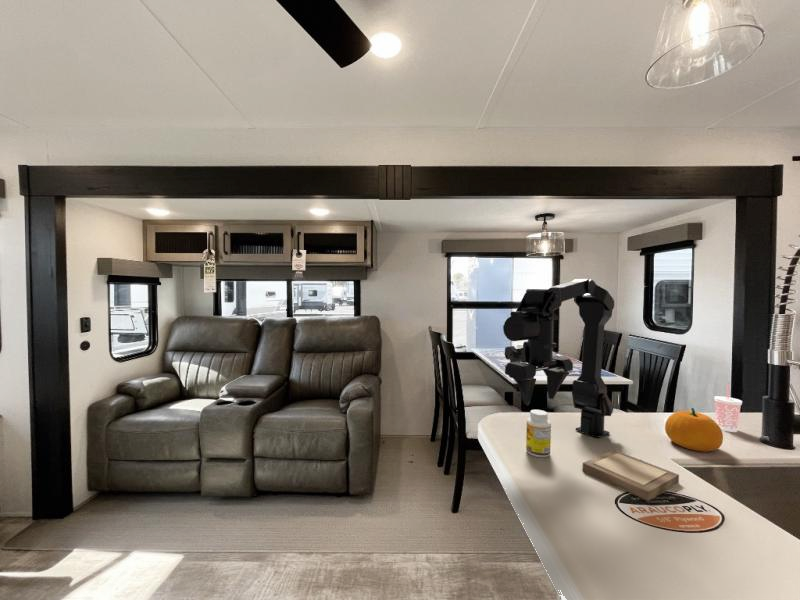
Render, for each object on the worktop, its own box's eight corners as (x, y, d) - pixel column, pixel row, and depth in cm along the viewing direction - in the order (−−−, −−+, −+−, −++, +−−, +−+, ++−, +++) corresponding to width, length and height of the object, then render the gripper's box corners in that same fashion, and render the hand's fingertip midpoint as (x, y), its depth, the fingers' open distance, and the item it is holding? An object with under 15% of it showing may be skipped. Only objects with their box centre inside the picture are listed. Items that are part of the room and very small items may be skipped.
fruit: (658, 443, 93) (659, 406, 92) (671, 433, 100) (673, 398, 100) (716, 461, 83) (718, 419, 83) (727, 448, 90) (728, 410, 90)
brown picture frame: (614, 457, 84) (614, 449, 84) (678, 483, 73) (678, 473, 73) (582, 470, 77) (582, 461, 77) (648, 501, 66) (648, 490, 66)
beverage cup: (711, 428, 104) (713, 381, 104) (714, 423, 108) (716, 378, 108) (740, 434, 99) (742, 386, 99) (741, 429, 104) (743, 382, 103)
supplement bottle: (526, 446, 89) (527, 407, 89) (549, 450, 87) (550, 410, 87) (525, 455, 84) (526, 414, 84) (550, 460, 82) (551, 417, 82)
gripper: (536, 332, 97) (535, 388, 97) (488, 336, 87) (487, 398, 88) (574, 337, 87) (573, 399, 88) (525, 342, 78) (523, 411, 78)
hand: (539, 401), depth 85 cm, fingers open, 9 cm apart
